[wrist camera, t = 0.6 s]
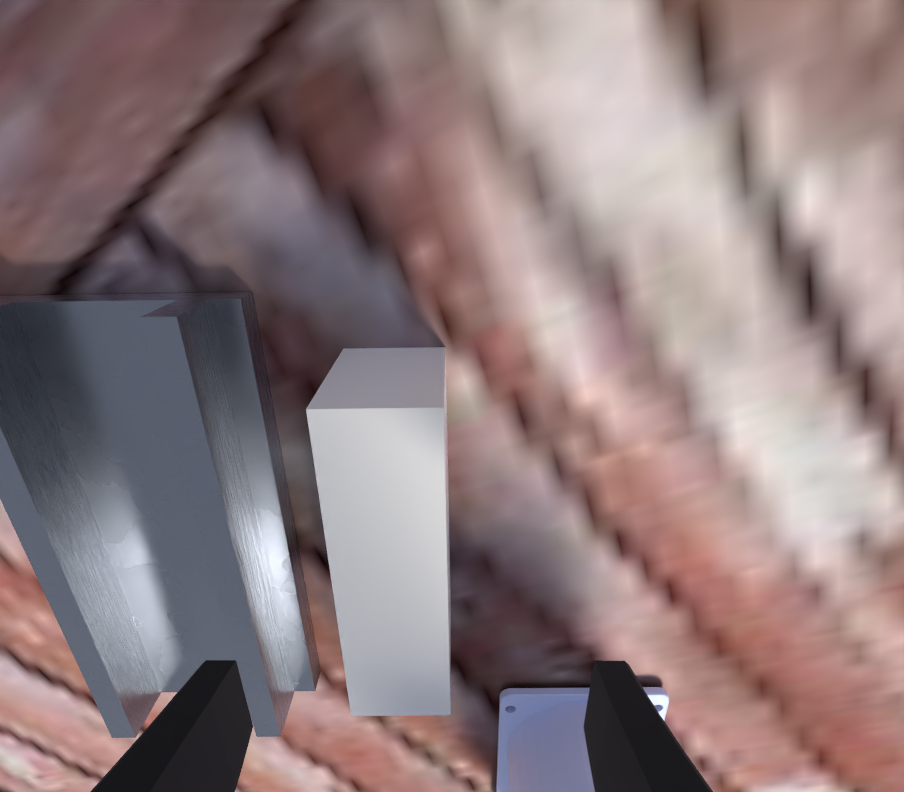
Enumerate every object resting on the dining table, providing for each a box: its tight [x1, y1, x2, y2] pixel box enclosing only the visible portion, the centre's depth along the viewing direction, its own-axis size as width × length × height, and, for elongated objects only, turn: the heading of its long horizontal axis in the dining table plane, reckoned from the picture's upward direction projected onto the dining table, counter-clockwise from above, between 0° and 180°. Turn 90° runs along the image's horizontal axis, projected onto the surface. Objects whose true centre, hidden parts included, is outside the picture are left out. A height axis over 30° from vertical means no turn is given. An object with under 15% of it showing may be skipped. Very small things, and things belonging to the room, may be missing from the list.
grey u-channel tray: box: [0, 292, 320, 738], centre depth 19 cm, size 18×9×3 cm, turn 1°
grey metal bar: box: [306, 347, 451, 716], centre depth 17 cm, size 12×4×5 cm, turn 1°
